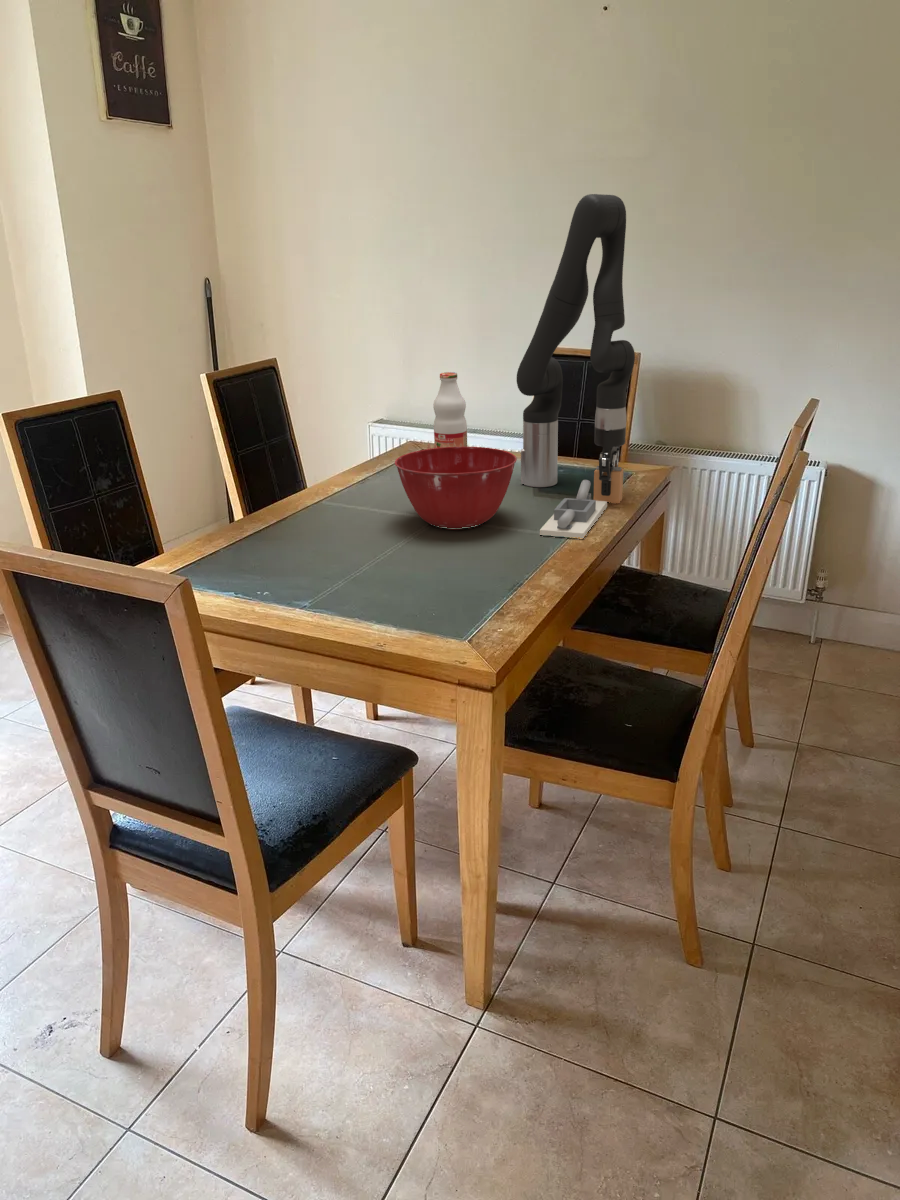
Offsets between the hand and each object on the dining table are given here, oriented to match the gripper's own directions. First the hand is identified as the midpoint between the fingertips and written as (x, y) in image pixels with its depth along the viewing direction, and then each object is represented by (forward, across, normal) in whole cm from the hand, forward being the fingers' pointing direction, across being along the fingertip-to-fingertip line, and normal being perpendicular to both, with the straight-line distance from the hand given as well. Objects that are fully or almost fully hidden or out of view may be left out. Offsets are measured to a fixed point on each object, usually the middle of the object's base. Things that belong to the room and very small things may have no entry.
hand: (608, 491), depth 228 cm
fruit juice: (+2, -18, -49) cm, 52 cm away
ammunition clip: (+3, -3, -45) cm, 45 cm away
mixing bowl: (+3, +26, -31) cm, 41 cm away
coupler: (+2, 0, 0) cm, 2 cm away
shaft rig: (+2, +19, -4) cm, 20 cm away
